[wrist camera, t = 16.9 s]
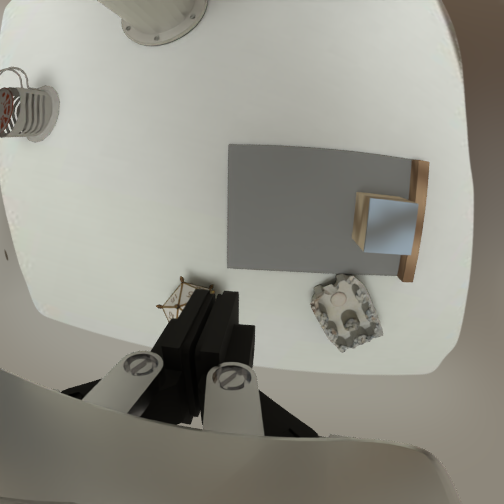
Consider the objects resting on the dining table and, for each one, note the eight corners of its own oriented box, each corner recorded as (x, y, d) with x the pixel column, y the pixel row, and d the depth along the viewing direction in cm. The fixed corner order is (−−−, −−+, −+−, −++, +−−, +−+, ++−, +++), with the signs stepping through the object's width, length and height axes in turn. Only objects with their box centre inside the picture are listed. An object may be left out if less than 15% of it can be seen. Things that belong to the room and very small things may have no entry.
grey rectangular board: (229, 144, 35) (228, 144, 35) (410, 159, 33) (411, 159, 33) (227, 267, 40) (227, 268, 40) (396, 275, 38) (396, 275, 38)
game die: (218, 285, 45) (253, 321, 37) (183, 327, 44) (211, 369, 37) (177, 254, 39) (207, 289, 32) (138, 301, 39) (159, 346, 31)
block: (418, 203, 29) (399, 196, 35) (370, 198, 29) (356, 191, 35) (410, 255, 31) (393, 241, 37) (363, 252, 31) (351, 238, 37)
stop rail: (410, 159, 33) (418, 160, 31) (420, 161, 33) (429, 161, 31) (396, 275, 38) (402, 282, 36) (405, 275, 38) (412, 282, 36)
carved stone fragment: (304, 289, 40) (306, 303, 36) (354, 264, 38) (361, 276, 34) (334, 344, 42) (338, 361, 39) (379, 323, 41) (386, 338, 37)
